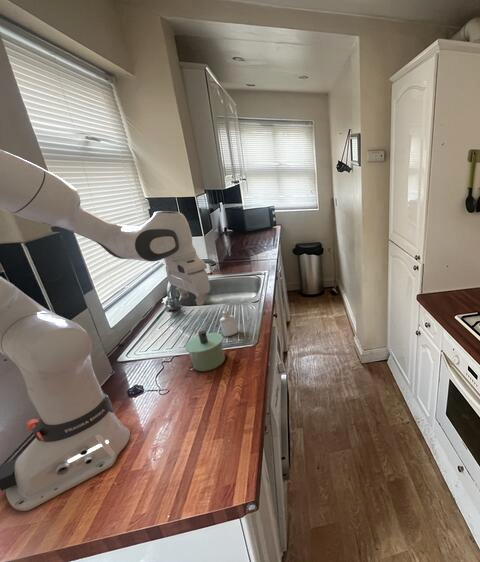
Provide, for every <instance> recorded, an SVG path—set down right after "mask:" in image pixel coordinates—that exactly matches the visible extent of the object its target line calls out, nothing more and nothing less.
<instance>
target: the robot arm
mask: <svg viewBox="0 0 480 562" xmlns="http://www.w3.org/2000/svg"><path fill="white" fill-rule="evenodd" d="M0 210H1V211H3V212H6V213H9V214H11V215H14V216H17V217H20V218H22V219H26V220H29V221H31V222H35V223H38V224H43V225H47V226H51V227H58V228H61V229H64V230H67V231H70V232H72V233H74V234H76V235H79V236H81V237H83V238H86V239H88V240H90V241H92V242H95V243H96V244H98V245H99V246H100V247H101V248H103V249H104V250H105V251H106V252H107V253H108V254H110V255H111V256H112V257H114V258H116V259H120V260H135V261H140V262H141V261H142V262H158V261H161V260H164V263H165V273H166V277H167V281H168V282H169V284H170V285H171V286H174V287H176V289H177V290H178V292H179V294H180V297H181V298H182V299H184V300H186V299H189V298H190V295H189V294H190V293H191V294H193V295H194V296H195V297H196V299H195V304H196V305H197V306H202V305H204V304H205V301H204V298H205V295H207V294H209V293H210V292H211V284H210V279H209V275H208V272H207V270H206V269H207V268H208V266H207V263H206V262H205V261H204V260H203V259H202V258H201V257H200V256H199V255H198V253H197V251H196V248H195V246H194V245H193V236H192V235H193V234H192V231H191V228H190V225H189V222H188V220H187V218H186V216H185V215H184V213H182V212H179V211H169V210H158V211H154V212H153V215H152V216H151V217H150V219H148V220H146V222H144V223H143V224H142V225H139V226H135V225H128V224H121V223H119V224H118V223H112V222H109V221H108V220H105V219H104V218H102V217H100V216H98V215H95V214H94V213H92V212H89V211H88V210H85V209H84V208H82V207H81V197H80V194H79V192H78V190H77V189H76V188H75V187H74V186H73V185H71V184H70V183H68V182H67V181H66V180H64V179H62V178H61V177H59V176H58V175H55V174H54V173H52V172H50V171H48V170H46V169H44V168H42V167H40V166H38V165H37V164H34V163H33V162H31V161H28V160H25V159H23V158H21V157H19V156H17V155H14V154H12V153H10V152H8V151H5V150H2V149H0ZM92 348H93V341H92V339H91V336H90V335H89V334H88V332H87V331H86V330H85V329H84V328H83V327H82V325H80V324H79V323H77V322H75V321H73V320H70V319H68V318H65V317H63V316H61V315H58V314H57V313H55V312H52V311H51V310H49V309H47V308H46V307H45V306H43V305H41V304H40V303H38V302H37V301H35V300H34V299H33V298H31V297H30V296H28V295H27V294H26V293H24V292H23V291H22V290H21V289H20V288H18V287H17V286H15V284H13V283H12V282H10V281H9V280H7V279H6V278H4V277H3V276H1V275H0V354H2V355H3V356H4V357H6V358H8V359H9V360H11V361H12V362H13V364H15V365H16V366H17V368H18V369H19V371H20V373H21V375H22V377H23V380H24V383H25V385H26V389H27V397H28V399H29V400H30V401H31V404H32V405H33V407H34V408H35V411H36V413H37V414H38V416H39V417H40V419H37V418H32V419H29V420H28V421H27V422H26V424H25V427H26V428H27V430H28V431H32V433H33V435H34V437H35V438H34V439H33V440H31V442H30V443H29V445H28V446H26V448H25V449H24V450H23V451H22V452H21V453H20V454H19V455H18V456H17V457H15V458H13V459H11V460H8V461H5V462H4V463H3V462H2V463H1V464H0V491H1V492H3V491H5V496H6V499H7V501H8V503H9V505H10V506H11V507H12V508H13V509H15V511H16V510H17V511H20V512H27V511H31V510H33V509H35V508H36V507H38V506H40V505H41V504H44V503H45V502H48V501H49V500H51V499H53V498H55V497H57V496H59V495H61V494H62V493H64V492H66V491H68V490H70V489H72V488H74V487H75V486H77V485H79V484H81V483H83V482H85V481H87V480H89V479H90V478H92V477H95V476H96V475H98V474H100V473H102V472H104V471H106V470H107V469H109V468H111V467H113V465H114V464H115V463H116V460H117V458H118V456H119V454H120V453H121V451H122V450H123V449H125V447H126V446H127V444H128V442H129V440H130V438H131V431H130V429H129V428H128V427H127V426H126V425H124V424H123V423H122V422H121V420H120V419H119V418H118V416H116V414H115V412H114V408H113V404H112V402H111V399H110V397H109V396H108V394H107V393H106V392H105V391H104V390H102V387H101V384H100V382H99V381H98V378H97V375H96V373H95V371H94V367H93V364H92V357H91V352H92Z"/></svg>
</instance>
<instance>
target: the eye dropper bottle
mask: <svg viewBox="0 0 480 562" xmlns="http://www.w3.org/2000/svg"><path fill="white" fill-rule="evenodd" d="M221 314H222V316H221V318H219V323H220V327H221V331H222V332H221V333H222V336H223V337H231V336H234V335H236V334H238V326H237V322H236V318H235V316H234V315H232V314H230V311H229V310H227V308H226V307H225V308H223V311H222V313H221Z"/></svg>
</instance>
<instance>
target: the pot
mask: <svg viewBox="0 0 480 562" xmlns="http://www.w3.org/2000/svg"><path fill="white" fill-rule="evenodd" d="M188 355H189V358H190V362H191V365H192V367H193V370H195V371H197V372H204V371H206V372H207V371H210V370H213V369H216V368H218V367H219V366H221V365H222V364H223V363H224V362H225V360H226V355H225V351H224V348H223V342H222V343H221V344H220V345H218V346H217V347H215V348H213V349H211V350H209V351H205V352H201V353H190V352H188Z"/></svg>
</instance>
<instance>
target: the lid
mask: <svg viewBox="0 0 480 562" xmlns="http://www.w3.org/2000/svg"><path fill="white" fill-rule="evenodd" d="M223 341H224V335H223V334H221V333H218V332H209V333H207V331H206V330H200V331H198V332H197V336H195V337H193V338H191V339H190V340H189V341H187V342H186V344H185V346H184V348H185V349H184V350H185V351H186V352H188V353H189V352H190V353H201V352H205V351H209V350H211V349H213V348H215V347H217V346H218V345H220V344H221V343H222V344H223Z"/></svg>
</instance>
